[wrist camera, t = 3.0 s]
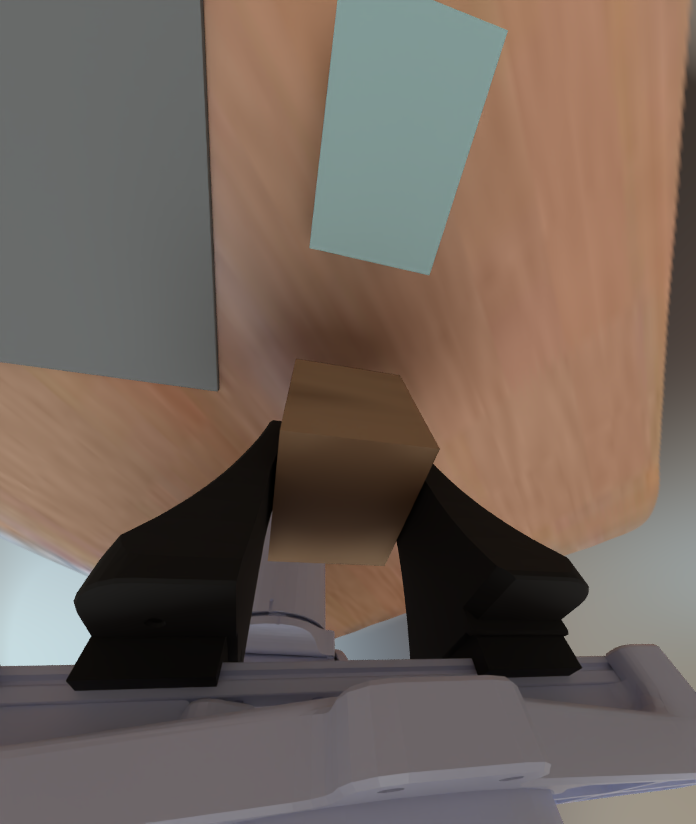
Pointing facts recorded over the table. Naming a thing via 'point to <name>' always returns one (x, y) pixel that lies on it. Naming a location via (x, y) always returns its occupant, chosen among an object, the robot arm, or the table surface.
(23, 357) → the mat
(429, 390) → the table surface
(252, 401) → the table surface
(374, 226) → the teal brick
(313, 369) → the walnut brick
